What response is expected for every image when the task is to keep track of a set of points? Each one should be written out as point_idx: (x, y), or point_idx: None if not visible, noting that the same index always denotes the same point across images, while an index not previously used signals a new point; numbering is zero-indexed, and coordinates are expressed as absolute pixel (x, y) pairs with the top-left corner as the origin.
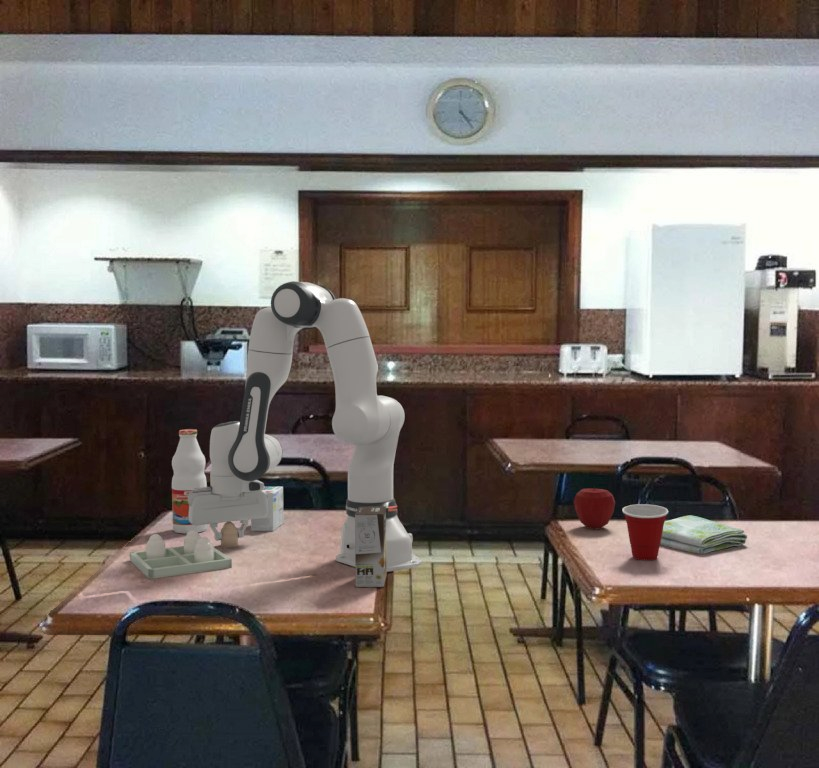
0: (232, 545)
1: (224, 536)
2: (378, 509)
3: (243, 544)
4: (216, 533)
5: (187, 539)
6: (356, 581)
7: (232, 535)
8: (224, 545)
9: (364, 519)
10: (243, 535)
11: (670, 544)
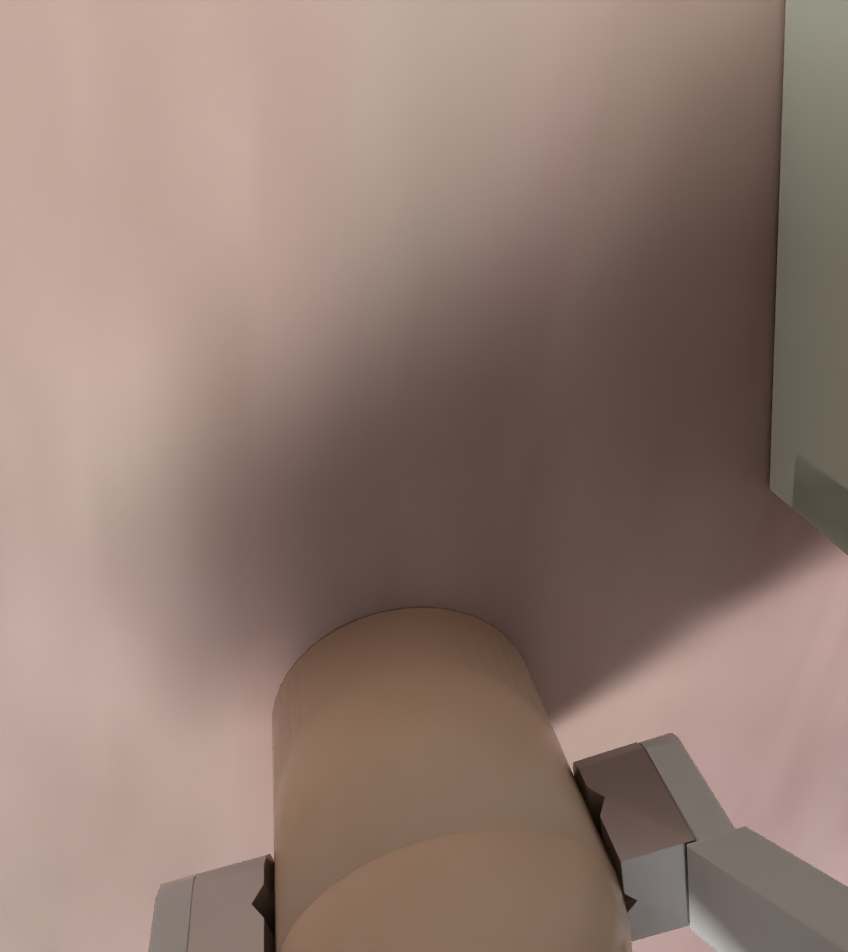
0: (378, 660)
1: (556, 796)
2: None
3: (189, 837)
4: (740, 837)
5: None
6: None
7: (403, 808)
8: (509, 667)
9: None
10: (164, 905)
11: None
